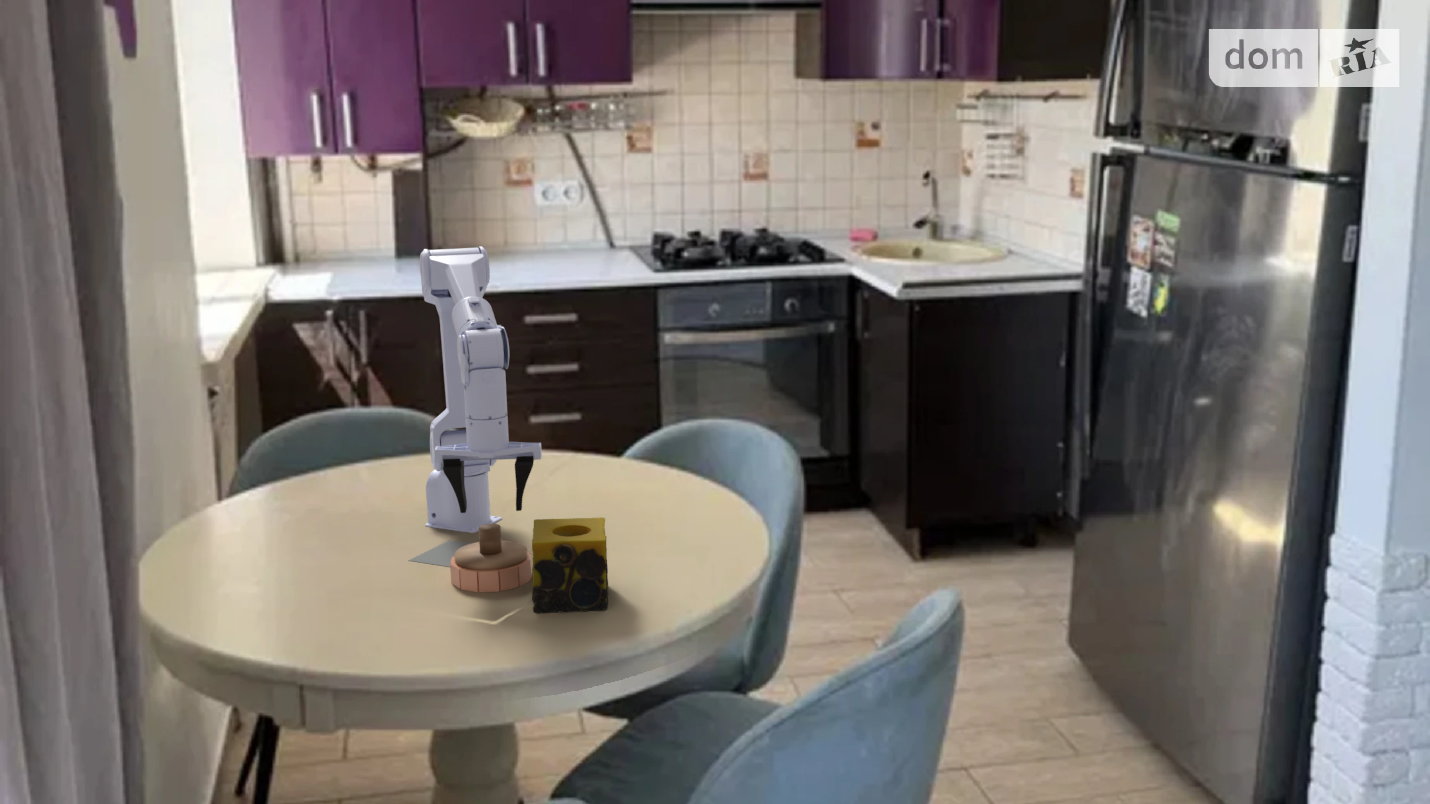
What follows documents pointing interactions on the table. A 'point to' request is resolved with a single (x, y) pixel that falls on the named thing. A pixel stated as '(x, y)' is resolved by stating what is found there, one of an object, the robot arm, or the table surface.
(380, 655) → the table surface
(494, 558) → the lid
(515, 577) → the bowl
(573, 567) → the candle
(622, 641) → the table surface
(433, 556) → the mat
